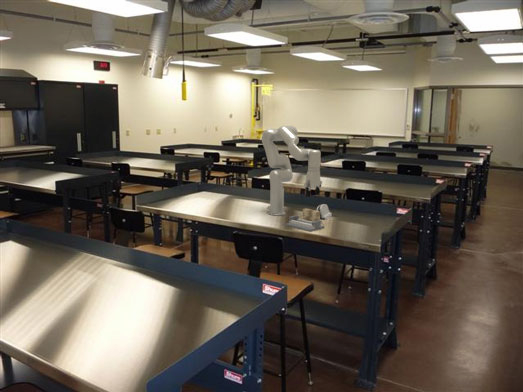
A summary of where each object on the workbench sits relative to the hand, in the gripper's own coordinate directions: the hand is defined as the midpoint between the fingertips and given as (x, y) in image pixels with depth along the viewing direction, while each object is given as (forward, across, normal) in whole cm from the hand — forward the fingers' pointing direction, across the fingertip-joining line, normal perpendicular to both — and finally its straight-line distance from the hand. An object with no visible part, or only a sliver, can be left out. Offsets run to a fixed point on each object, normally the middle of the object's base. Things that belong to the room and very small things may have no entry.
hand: (312, 195), depth 290 cm
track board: (+18, +10, +3) cm, 21 cm away
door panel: (+18, 0, 0) cm, 19 cm away
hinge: (+19, -22, -6) cm, 30 cm away
